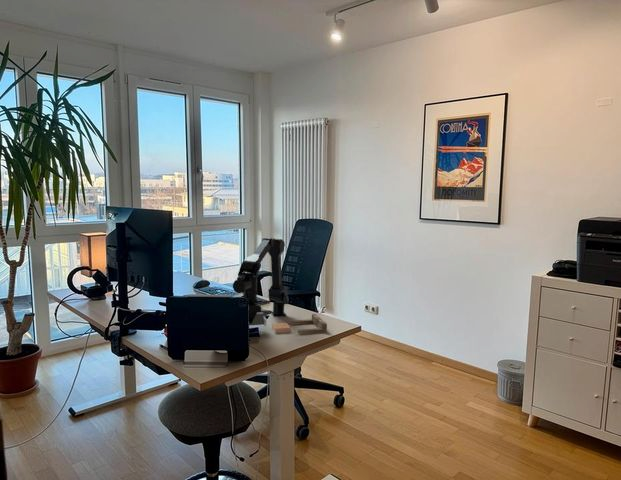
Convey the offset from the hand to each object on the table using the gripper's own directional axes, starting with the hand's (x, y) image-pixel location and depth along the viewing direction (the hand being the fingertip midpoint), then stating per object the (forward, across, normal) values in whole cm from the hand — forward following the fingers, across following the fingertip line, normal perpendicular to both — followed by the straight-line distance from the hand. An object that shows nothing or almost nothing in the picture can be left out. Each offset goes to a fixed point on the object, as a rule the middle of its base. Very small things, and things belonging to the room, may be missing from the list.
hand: (249, 322), depth 191 cm
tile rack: (+5, 0, +26) cm, 27 cm away
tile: (+5, 0, +14) cm, 15 cm away
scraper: (+1, 0, 0) cm, 1 cm away
